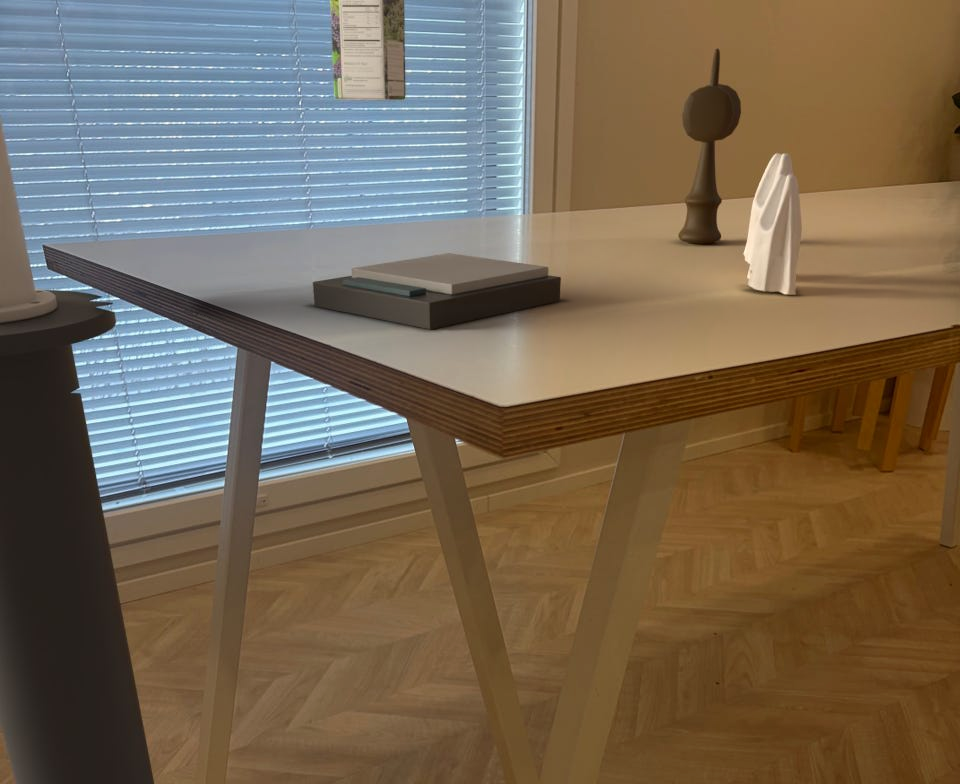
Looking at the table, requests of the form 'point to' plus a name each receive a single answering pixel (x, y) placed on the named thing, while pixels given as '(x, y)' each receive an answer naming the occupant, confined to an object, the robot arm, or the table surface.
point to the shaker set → (775, 229)
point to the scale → (438, 290)
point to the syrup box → (368, 49)
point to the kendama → (707, 152)
